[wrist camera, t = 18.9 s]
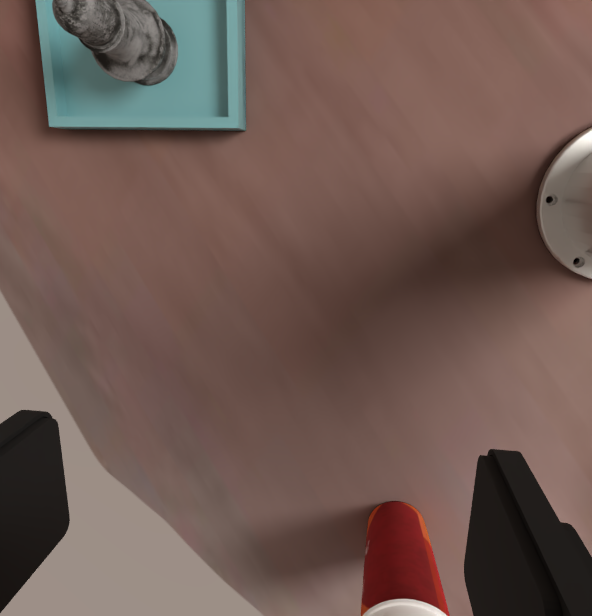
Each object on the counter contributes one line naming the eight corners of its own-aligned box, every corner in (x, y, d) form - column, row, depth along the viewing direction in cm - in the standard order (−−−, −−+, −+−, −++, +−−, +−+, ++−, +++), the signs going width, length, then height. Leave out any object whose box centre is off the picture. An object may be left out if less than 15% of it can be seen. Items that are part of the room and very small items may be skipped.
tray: (244, -35, 38) (236, -49, 35) (245, 130, 41) (238, 128, 38) (51, -29, 40) (31, -41, 37) (66, 129, 43) (49, 126, 40)
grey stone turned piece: (192, 27, 38) (119, -36, 27) (167, 101, 40) (89, 72, 29) (124, -5, 38) (23, -81, 27) (102, 71, 40) (-2, 29, 29)
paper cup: (341, 523, 50) (333, 652, 36) (395, 477, 47) (407, 596, 34) (398, 571, 50) (410, 715, 37) (453, 527, 48) (488, 664, 35)
